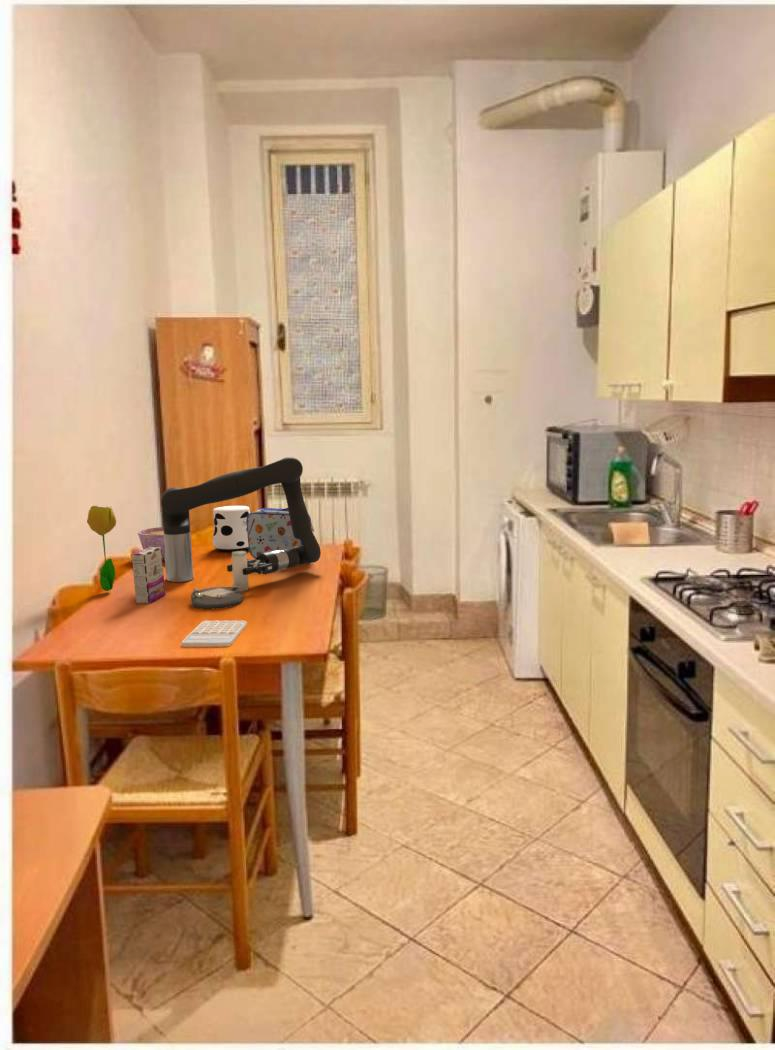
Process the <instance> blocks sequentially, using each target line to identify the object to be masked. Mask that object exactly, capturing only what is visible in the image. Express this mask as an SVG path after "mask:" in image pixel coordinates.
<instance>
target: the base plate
mask: <svg viewBox="0 0 775 1050" xmlns="http://www.w3.org/2000/svg"><path fill="white" fill-rule="evenodd" d="M192 590H193V591H192V593H190V601H191V602H190V603H191V606H192V607H193V608H195V607H196V609H200V608H203V610H217V609H216V608H220V609H226V608H225V607H227V608H231V607H230V606H232V607H235V606H238V605H240V604H241V603H243V591H242V590H241V589H239V588H237V585H236V584H234V585H233V584H232V587H231V586H216V587H215V586H213V587H207V588H203V589H202V588H201V589H199V588H196V587H194V588H193V589H192ZM239 603H240V604H239ZM237 604H238V605H237ZM234 605H235V606H234ZM212 608H213V609H212ZM214 608H215V609H214Z"/></svg>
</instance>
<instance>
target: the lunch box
mask: <svg viewBox="0 0 775 1050" xmlns="http://www.w3.org/2000/svg"><path fill="white" fill-rule="evenodd" d="M308 515H309V519H310V524H311V529H312V532H313V533H315V529H314V528H315V527H314V526H313V523H312V518H311V515H310V514H309V513H308ZM246 524H247V534H248V546H249V548H248V553H249V555H250V556H251V557H252V558H253V559H256V558H257V556H258V555H259V554H261V553H265V552H270V551H275V550H283V549H288V548H293V547H296V546H300V545H303V543H302V541H301V540H300V539H296V538H295V537H294V535H293V531H292V526H291V522H290V516H289V510H288V507H286V508H285V507H284V508H276V507H275V508H273V507H264V508H263V507H262V508H259V509H257V510H254V511H252V512H251V511H250V513H249V514H248V516H247V519H246Z"/></svg>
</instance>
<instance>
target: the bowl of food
mask: <svg viewBox="0 0 775 1050" xmlns="http://www.w3.org/2000/svg"><path fill="white" fill-rule="evenodd" d="M137 535H138V538H139V541H140V544H141V547H142V550H143V549H146V548H148V547H161V552H162V559H165V556H164V554H165V541H164V529H163V526H160V527H152V528H151V527H150V528H145V529H141V530H139V531H138V532H137Z"/></svg>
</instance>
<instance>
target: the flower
mask: <svg viewBox="0 0 775 1050" xmlns="http://www.w3.org/2000/svg"><path fill="white" fill-rule="evenodd" d="M87 514H88V515H87V521H86V522H87V524H88V526H89V528H90V530H91V531H93V532H95V533H96V534H97V535H99V536H102V545H103V555H104V564H102V566H101V568H100V570H99V583H100V586H101V588H102V589H101V590H104V591H105V592H107V591H108V592H109V591H110V590H113V587H114V582H115V578H116V569H115V565H114V563H113V559H112V558H108V559H107V556H106V543H105V535H106V534H108V533H110V532H111V531H112V530H113V529H114V528H115V527H116V525H117V518H116V515H115V512H114V510H113V508H112V506H110V507H109V506H106V507H104V506H97V505H93V506H91V507H90V508H89V510H88V513H87Z"/></svg>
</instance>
